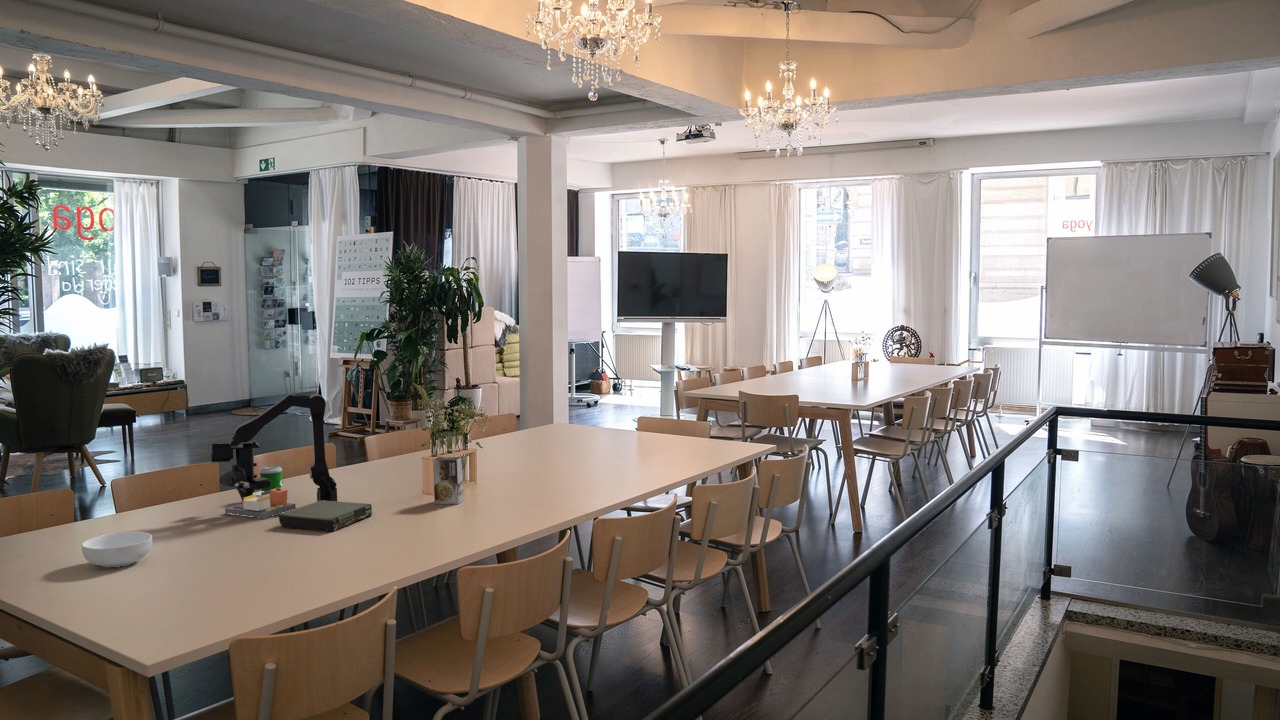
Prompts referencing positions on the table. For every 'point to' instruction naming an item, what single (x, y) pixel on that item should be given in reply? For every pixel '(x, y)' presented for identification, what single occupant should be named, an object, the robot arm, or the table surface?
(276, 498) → the cap
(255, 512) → the panel
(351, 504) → the network switch
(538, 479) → the table surface
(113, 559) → the cereal bowl
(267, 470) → the soda can
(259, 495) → the block
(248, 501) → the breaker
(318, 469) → the robot arm
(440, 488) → the coffee box
